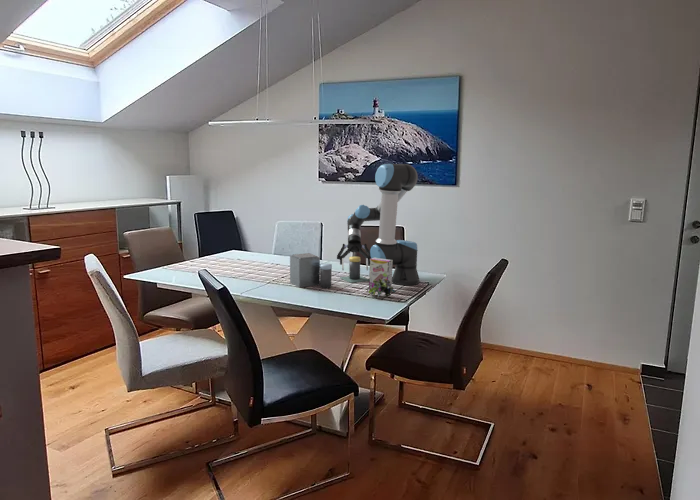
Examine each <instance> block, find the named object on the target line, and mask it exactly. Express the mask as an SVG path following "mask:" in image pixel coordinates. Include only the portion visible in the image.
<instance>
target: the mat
mask: <svg viewBox="0 0 700 500" xmlns="http://www.w3.org/2000/svg"><path fill="white" fill-rule="evenodd" d="M339 279H340V280H343V281H345V282H347V283H349V284H353V283H362V282H369V278H366V277H364V276H362V275H360V279H358V280H352V279H349V276H342V277H341V276H339Z"/></svg>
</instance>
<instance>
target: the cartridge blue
mask: <svg viewBox="0 0 700 500" xmlns="http://www.w3.org/2000/svg"><path fill="white" fill-rule="evenodd" d="M332 267H333V266H332V264H331V263H320V285H319V287H320V288H321V289H330V288H332V278H333V277H332V269H333V268H332Z"/></svg>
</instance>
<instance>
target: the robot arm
mask: <svg viewBox="0 0 700 500" xmlns="http://www.w3.org/2000/svg"><path fill="white" fill-rule="evenodd" d="M374 177H375V178H374V180H375V184H376V186H378V187H379V188H378V190H379V191H380V192H381V198H380V200H381V201H380V203H379V204H378V205H377V207H369V206H367V205H364V204H360V205H358V206H357V208H356V209H355V211H354V213H351V214H350V215H348V216H347V223H346V224H347V244H345V243H343V244H342V247H341V249H340V250H339V251H338V253H337V255H336V260H339V265H341V271H344V269H345V267H344V266H345V265H344V262H345V261H344V259H345V258H346V256H348V255H349V254H350V253H359V254H360V255H361V256H363V258H365V266H366V267H365V268H366V269H365V270H366V271H368V270H369V266H370V259H371V258H381V259H388V260H393V264H392V266H395V268H394V271H393V273H392V284H396V285H400V286H401V285H402V286H414V285H415V284H416V285H418V284H420V276H419V273H418V272H419V271H418V270H417V269H418V268H417V266H418V264H417V263H418V243H416V242H414V241H411V240H403V239H395V238H396V228H397V227H396V226H397V214H398V203H399V202H400V200H401V199H402V198H403V197H404V196H405V195H406V194H407V193H408V192H410V191H412V190H413V188H414V187H415V186H416V184H417V182H418V177H419V176H418V172H417V170H416V169H415V167H414V166H412V165H411V164H408V163H384V164H381V165H380V166H379V167H378V168H377V170H376V172H375V176H374ZM375 221H376V222H377V221H379V226H378V227H379V229H378V237H377V239H375V242H374V244H373V245H372V246H371V247H370V250H369V248H368V246H367V244H366V243H364V244H362V240H361V239H362V238H361V236H362V235H361V234H362V233H361V232H362V231H361V226H362V225H363V224H364V222H375ZM346 248H347V249H346ZM345 249H346V250H345Z"/></svg>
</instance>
